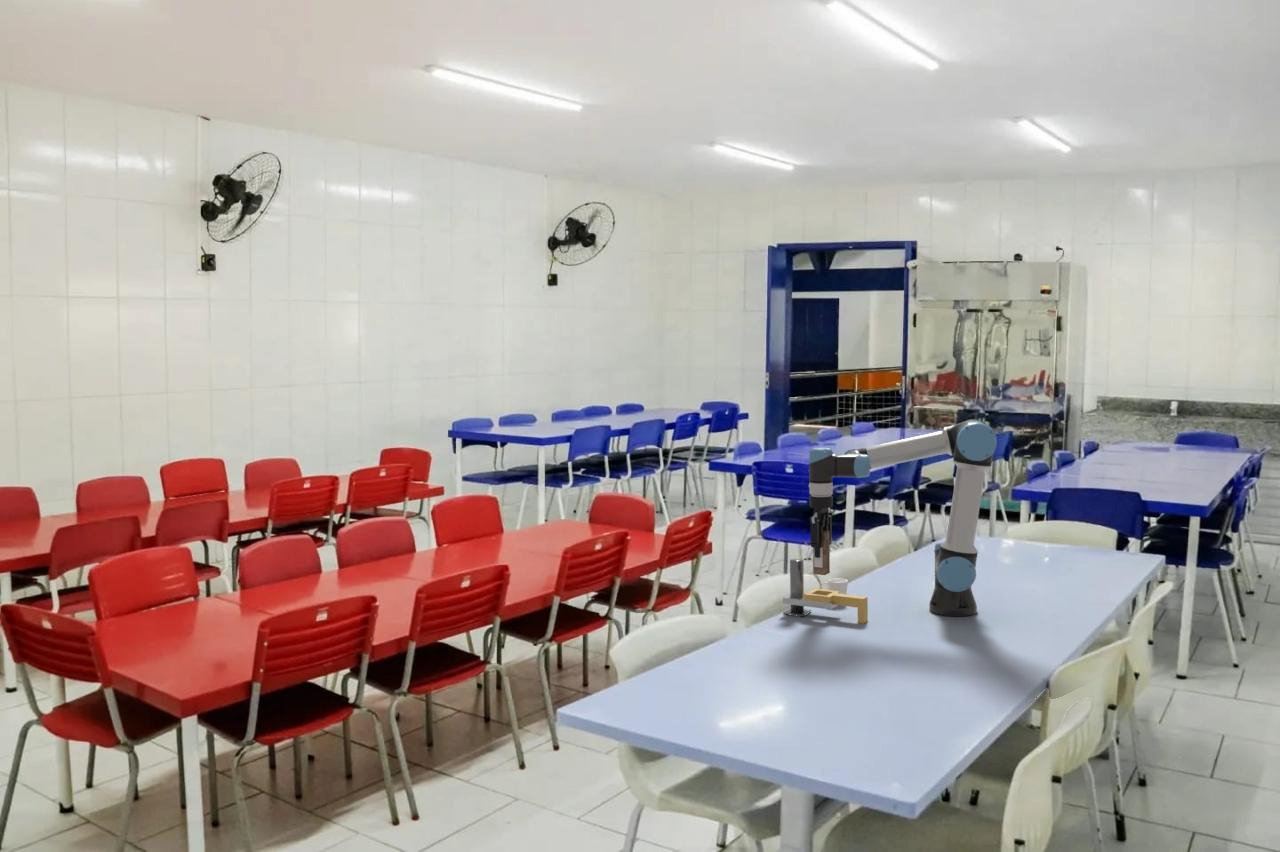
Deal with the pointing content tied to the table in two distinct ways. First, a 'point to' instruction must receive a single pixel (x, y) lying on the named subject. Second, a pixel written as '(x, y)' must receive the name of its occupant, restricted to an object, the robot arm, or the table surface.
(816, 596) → the bracket
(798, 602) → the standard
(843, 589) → the cup
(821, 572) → the pin
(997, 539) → the table surface
